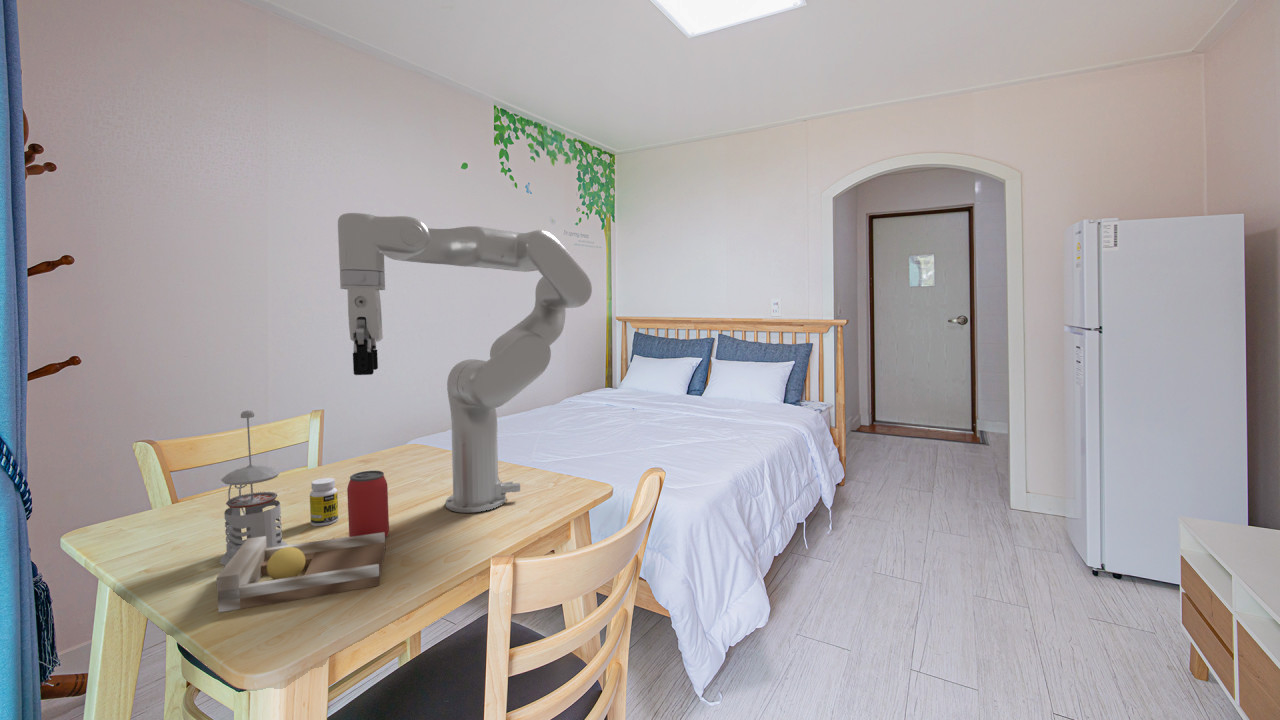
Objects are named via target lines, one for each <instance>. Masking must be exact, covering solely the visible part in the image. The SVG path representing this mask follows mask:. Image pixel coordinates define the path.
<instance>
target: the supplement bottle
mask: <svg viewBox="0 0 1280 720" xmlns="http://www.w3.org/2000/svg"><path fill="white" fill-rule="evenodd" d="M338 497H339V496H338V489H337V488H336V479H335V478H334V477H333V478H332V477H324V478H323V477H322V478H318V479H315V480H313V481H311V491H310V493H309V509H310V510H309V512H310V524H311V525H312V526H315V527H317V526H318V527H323V526H328V525H331V524H334V523H336V522H337V521H338V520H339V504H338V503H339V501H338V500H339V499H338Z"/></svg>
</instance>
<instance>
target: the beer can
mask: <svg viewBox="0 0 1280 720" xmlns="http://www.w3.org/2000/svg"><path fill="white" fill-rule="evenodd" d="M388 487H389V486H388V481H387V480H386V477H385V473H384V472H383V471H381V470H366V471H359V472H356V473H353V474H352V475H350V476H349V481H348V484H347V489H346V490H347V491H346V492H347V494H346V495H347V514H348V515H347V516H348V518H347V520H348V537H352V536H360V535H367V534H375V533H382V532H385V538H387V537H388V536H389V534H390V521H389V519H390V517H389V496H388V495H389V491H388V489H389V488H388Z"/></svg>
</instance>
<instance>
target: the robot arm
mask: <svg viewBox="0 0 1280 720" xmlns="http://www.w3.org/2000/svg"><path fill="white" fill-rule="evenodd" d="M337 235H338V236H337V239H338V240H337V241H338V258H339V259H338V260H339V262H338V263H339V264H338V265H339V282H340V283H339V284H340V287H339V288H340V289H341V290H347V315H348V327H349V338H350V340H351V341H352V342H353V352H352V365H353V366H352V367H353V375H355V376H365V375H366V376H368V375H369V376H371V375H374V370H375V371H376V370H378V369H379V362H378V349H377V343H378V342H381V341H382V340H383V338H384V336H383V323H382V320H383V319H382V305H381V303H382V302H381V294H380V291H386V276H385V275H386V273H385V257H387V258H388V259H391V260H395V261H401V262H410V263H421V264H433V265H447V266H454V267H455V266H457V267H464V268H465V267H466V268H467V267H469V268H480V269H481V268H482V269H494V270H503V271H512V272H524V273H525V272H526V273H527V272H528V273H529V272H534V271H535V272H536V271H537V272H539V273H540V275H541V278H539V280H538V281H537V282H536V283H537V284H536V286H535V298H534V299H535V301H534V308H533V310H532V311H531V312H530V314H528V315H527V316H526V317H524V319H522V320H520V321H519V322H518V323H517V324H516V325H514V326H513V327H511V328H510V329H509V330H507V331H506V332H505V333H503V334H502V335H500V336H499V337H498V338H496V340H495V341H494V342H493V343H492V344H491V347H490V351H489V357H490V358H489V359H488V360H482V359H474V358H473V359H464V360H462V361H460V362H458V363H456V364H455V365H454V366H453V367H452V368H451V370H450V371H449V373H448V376H447V380H446V381H447V382H446V386H447V387H446V391H447V397H448V403H449V408H450V410H449V411H450V419H451V422H450V423H451V456H452V457H451V460H452V461H451V462H452V466H451V467H452V468H451V469H452V495H450V496H448V497H447V498H446V499H445V508H447V509H448V510H449V511H452V512H455V513H463V514H466V513H471V514H472V513H481V511H482V512H487V511H491V510H493V508H494V509H497V508H499V507H501V506H502V505H503V504H505V503H506V501H505V500H507V496H506V493H507V494H508V493H518V492H521V484H520V483H521V482H514V483H513V481H506V482H502V481H501V480H500V479H499V461H498V460H499V458H498V457H499V456H498V455H499V453H498V448H499V447H498V416H497V410H496V409H497V408H500V407H502V406H504V405H505V404H507V403H508V402H510V401H511V400H512V399H514V398H515V397H516V396H517V395H518V394H520V393H521V392H522V391H524V390H525V389H526V388H527V387H529V385H531V384H532V383H533V382H534V381H536V380H537V379H538V378H540V376H541V375H542V374H544V372H545V370H546V369H548V366H549V364H550V362H551V357H552V356H551V355H552V350H551V347H550V346H551V345H552V344H554V343H555V342H556V341H557V340H558V339H559V338H560V336H561V335H562V333H563V330H564V326H565V323H566V313H567V312H566V311H567V310H566V309H573V308H579V307H582V306H584V305H585V304H586V303H588V301H590V299H591V296H592V291H593V290H592V289H593V287H592V283H591V282H592V281H591V279H590V278H589V276H588V274H587V273H586V272H585V270H584V268H582V267H581V265H580V264H579V263H578V262H577V260H576V259H575V258H574V257H573V256H572V255H571V253H570V252H569V251H568V249H566V248H565V246H564V245H563V244H562V243H561V242H560V241H559V240H558V239H557V237H555V236H554V235H553V234H552V233H550V232H548V231H546V230H543V229H537V230H532V231H528V232H516V231H511V230H501V229H496V228H490V227H483V226H469V225H468V226H459V227H454V228H429V227H427V226H426V225H425V223H423V222H422V221H421V220H420V219H417V218H415V217H412V216H406V215H403V216H402V215H401V216H399V215H398V216H397V215H396V216H379V215H378V216H377V215H374V214H370V213H369V214H368V213H361V212H347V213H343V214H341V215H340V216H339V217H338V219H337ZM504 502H505V503H504ZM501 504H502V505H501ZM500 505H501V506H500ZM498 506H499V507H498ZM496 507H497V508H496ZM490 509H491V510H490ZM486 510H487V511H486Z"/></svg>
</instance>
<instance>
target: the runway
mask: <svg viewBox="0 0 1280 720" xmlns="http://www.w3.org/2000/svg"><path fill="white" fill-rule="evenodd" d="M246 539H247V538H246ZM285 547H294V548H297V549H299V550H301V551H302V552H303V554H304V556H305V566H304V569H306V571H305V573H304V574H303V575H298V576H296V577H290V578H283V579H277V580H274V579H271V580H264V581H260V579H261V577H262V576H265V575H269V574H268V572H267V563H268V561H269V559H270V557H271V556H272V555H273V554H274V553H275V552H276V551H278V550H280V549H282V548H285ZM385 553H386V537H385V532H382V533H375V534H367V535H360V536H352V537H349V536H346V537H339V538H338V537H337V538H331V539H324V540H317V541H309V542H302V543H301V542H300V543H294V544H288V545H285V546H277V547H270V548H267V545H266V536H263V537H255V538H248V539H247V540H246V541H245V542H244V544H243V545H242V546H241V547H240V549H239V550H238V551H237V552H236V554H235V555H234V556H233V558H232V559H231V560H230V561H229V563H228V564H227V565H224V568H222V569H221V571H220V573H219V574H218V575H217V576H216V594H217V605H218V606H217V607H218V613H224V612H229V611H237V610H241V609H247V608H248V609H249V608H254V607H259V606H264V605H271V604H278V603H282V602H283V603H284V602H288V601H289V602H291V601H296V600H302V599H308V598H313V597H319V596H325V595H330V594H337V593H343V592H349V591H355V590H361V589H367V588H368V589H369V588H374V587H379V586H380V583H381V576H382V570H383V565H384V557H385ZM304 569H303V570H304Z"/></svg>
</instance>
